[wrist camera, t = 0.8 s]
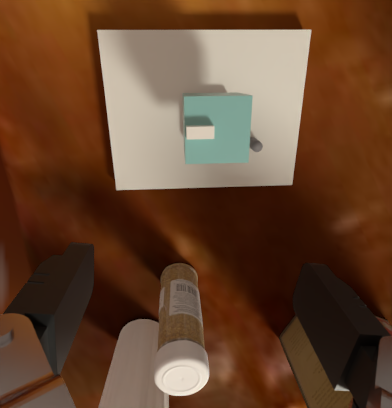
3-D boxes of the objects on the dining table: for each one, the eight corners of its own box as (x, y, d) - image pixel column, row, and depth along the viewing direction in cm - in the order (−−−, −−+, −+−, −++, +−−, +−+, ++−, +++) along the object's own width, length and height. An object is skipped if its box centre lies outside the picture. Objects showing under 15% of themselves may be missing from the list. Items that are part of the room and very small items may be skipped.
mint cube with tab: (237, 92, 24) (254, 96, 18) (235, 147, 25) (250, 164, 20) (182, 93, 23) (184, 97, 18) (183, 148, 25) (185, 166, 20)
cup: (118, 306, 37) (86, 429, 24) (180, 316, 39) (183, 438, 25) (108, 352, 40) (75, 485, 27) (167, 360, 41) (162, 490, 28)
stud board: (304, 32, 27) (329, 23, 22) (287, 180, 32) (304, 196, 28) (101, 32, 26) (86, 23, 21) (119, 185, 31) (109, 202, 27)
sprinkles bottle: (153, 279, 36) (141, 383, 24) (177, 254, 35) (178, 350, 23) (181, 298, 37) (184, 406, 25) (206, 274, 36) (221, 375, 24)
